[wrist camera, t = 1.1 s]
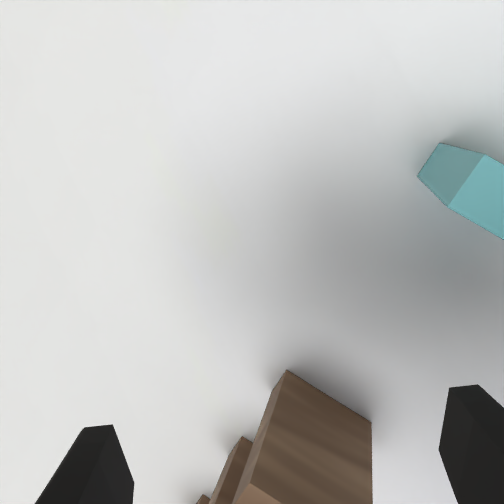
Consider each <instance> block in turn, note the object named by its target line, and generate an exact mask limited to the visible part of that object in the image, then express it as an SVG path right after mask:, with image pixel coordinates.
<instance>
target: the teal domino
mask: <svg viewBox="0 0 504 504" xmlns="http://www.w3.org/2000/svg"><path fill="white" fill-rule="evenodd" d="M417 177H418V178H419V179H420V180H421V181H422V182H423V183H424V184H425V185H426V186H427V187H428V188H429V189H430V190H431V191H432V192H433V193H434V194H435V195H436V196H437V197H438V198H439V199H440V200H441V201H442V203H443V204H444V205H445V206H446V207H448V208H449V209H451V210H453V211H455V212H456V213H458V214H460V215H462V216H463V217H465V218H467V219H468V220H470V221H472V222H474V223H475V224H477V225H479V226H481V227H482V228H484V229H486V230H488V231H489V232H491V233H493V234H494V235H496V236H498V237H500V238H501V239H503V240H504V165H503V164H501V163H500V162H498V161H496V160H494V159H493V158H491V157H489V156H487V155H485V154H482V153H478V152H474V151H470V150H466V149H462V148H458V147H454V146H450V145H446V144H442V143H439V144H438V146H437V147H436V149H435V150H434V152H433V153H432V155H431V156H430V157H429V159H428V160H427V162H426V163H425V165H424V166H423V168H422V169H421V171H420V172H419V174H418V175H417Z"/></svg>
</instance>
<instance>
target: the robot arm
mask: <svg viewBox="0 0 504 504" xmlns="http://www.w3.org/2000/svg"><path fill="white" fill-rule="evenodd" d="M439 452H440V455H441V458H442V461H443V464H444V467H445V470H446V472H447V475H448V478H449V481H450V484H451V486H452V489H453V492H454V494H455V497H456V500H457V502H458V504H504V408H503V407H502V406H501V405H500V404H499V403H498V402H497V401H496V400H495V399H493V398H492V397H491V396H490V395H489V394H488V393H487V392H486V391H485V390H484V389H483V388H481V387H480V386H479V385H469V386H460V387H451V388H449V393H448V398H447V404H446V410H445V416H444V422H443V427H442V433H441V439H440V445H439ZM133 492H134V481H133V478H132V475H131V473H130V470H129V467H128V465H127V462H126V459H125V456H124V454H123V451H122V448H121V446H120V443H119V440H118V437H117V435H116V432H115V429H114V427H113V425H103V426H94V427H85V428H84V429H83V430H82V431H81V432H80V434H79V435H78V437H77V438H76V440H75V442H74V443H73V445H72V446H71V448H70V450H69V451H68V453H67V454H66V456H65V458H64V459H63V461H62V462H61V464H60V466H59V467H58V469H57V470H56V472H55V473H54V475H53V477H52V478H51V480H50V481H49V483H48V484H47V486H46V487H45V489H44V490H43V492H42V494H41V495H40V497H39V498H38V500H37V501H36V503H35V504H133Z"/></svg>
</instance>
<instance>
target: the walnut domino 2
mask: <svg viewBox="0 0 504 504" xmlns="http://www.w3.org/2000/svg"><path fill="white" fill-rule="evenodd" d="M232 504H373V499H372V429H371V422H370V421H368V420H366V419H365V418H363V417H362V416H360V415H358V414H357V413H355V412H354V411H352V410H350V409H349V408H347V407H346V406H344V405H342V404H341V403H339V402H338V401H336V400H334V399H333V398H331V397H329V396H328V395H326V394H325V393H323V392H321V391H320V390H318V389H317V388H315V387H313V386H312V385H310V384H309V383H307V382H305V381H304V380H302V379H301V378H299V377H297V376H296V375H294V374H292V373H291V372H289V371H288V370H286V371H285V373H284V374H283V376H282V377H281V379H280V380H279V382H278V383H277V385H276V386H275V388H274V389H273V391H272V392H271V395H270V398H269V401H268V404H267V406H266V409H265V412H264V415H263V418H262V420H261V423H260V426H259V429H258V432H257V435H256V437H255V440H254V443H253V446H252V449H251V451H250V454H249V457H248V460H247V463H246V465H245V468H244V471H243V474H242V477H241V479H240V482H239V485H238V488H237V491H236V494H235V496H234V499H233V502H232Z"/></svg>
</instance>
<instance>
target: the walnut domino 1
mask: <svg viewBox="0 0 504 504" xmlns="http://www.w3.org/2000/svg"><path fill="white" fill-rule="evenodd" d="M209 502H210V499H209V498H208V497H206V496H205V495H202V496H201V498H200V499H199V501H198V502H197V504H209Z"/></svg>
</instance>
